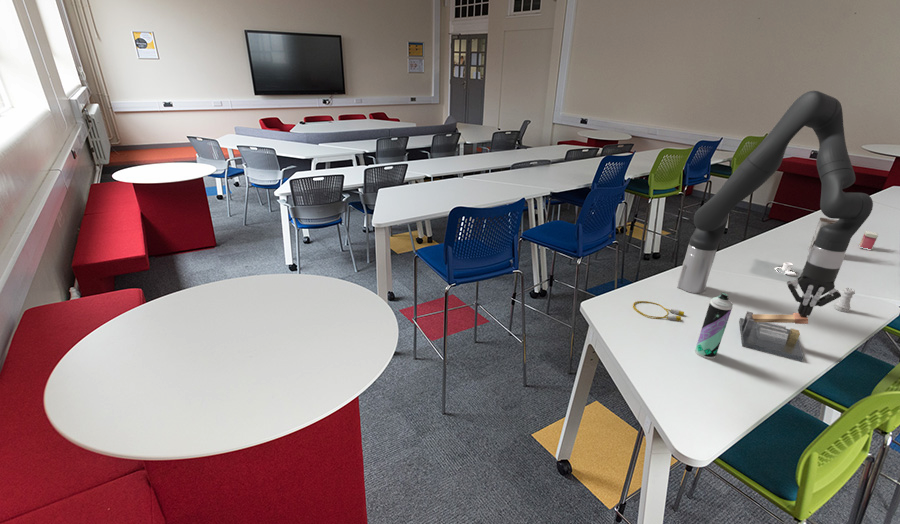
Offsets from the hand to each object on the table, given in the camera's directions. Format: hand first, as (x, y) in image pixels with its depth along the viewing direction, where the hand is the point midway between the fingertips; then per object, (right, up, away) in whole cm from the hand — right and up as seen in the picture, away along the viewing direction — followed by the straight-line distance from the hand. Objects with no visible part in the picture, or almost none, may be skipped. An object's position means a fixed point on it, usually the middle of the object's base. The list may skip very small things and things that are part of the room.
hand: (802, 315), depth 132 cm
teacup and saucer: (+33, +11, +54) cm, 64 cm away
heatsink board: (-5, -9, +7) cm, 12 cm away
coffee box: (+66, +19, +73) cm, 100 cm away
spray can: (-29, -11, 0) cm, 31 cm away
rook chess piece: (+34, -1, +26) cm, 43 cm away
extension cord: (-34, -2, +21) cm, 40 cm away
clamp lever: (-5, -2, +4) cm, 7 cm away
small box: (+94, +22, +81) cm, 127 cm away
